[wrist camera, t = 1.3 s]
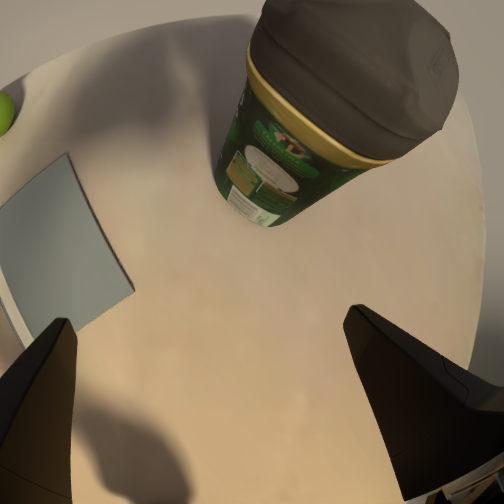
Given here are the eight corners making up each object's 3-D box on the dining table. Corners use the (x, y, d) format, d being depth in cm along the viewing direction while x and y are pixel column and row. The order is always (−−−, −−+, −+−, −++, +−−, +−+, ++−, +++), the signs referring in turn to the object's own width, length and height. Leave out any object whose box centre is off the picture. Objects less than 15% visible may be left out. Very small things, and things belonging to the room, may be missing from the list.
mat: (34, 362, 18) (30, 364, 17) (-21, 234, 17) (-24, 233, 16) (135, 291, 20) (133, 292, 20) (67, 155, 20) (64, 152, 19)
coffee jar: (267, 113, 24) (360, -48, 6) (330, 168, 25) (484, 57, 7) (196, 182, 22) (222, -33, 4) (269, 245, 23) (470, 166, 5)
